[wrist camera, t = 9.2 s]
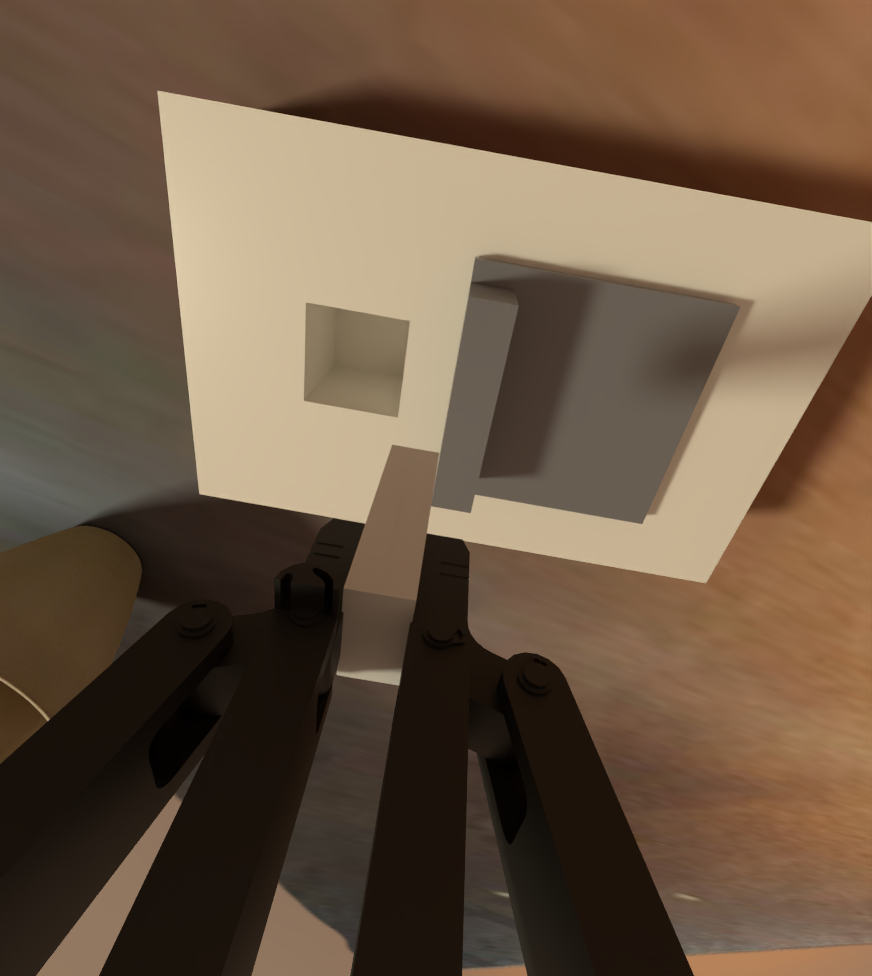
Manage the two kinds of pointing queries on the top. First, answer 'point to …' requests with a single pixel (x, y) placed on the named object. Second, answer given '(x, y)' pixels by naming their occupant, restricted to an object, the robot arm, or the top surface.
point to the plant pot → (59, 622)
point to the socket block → (441, 310)
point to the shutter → (572, 390)
